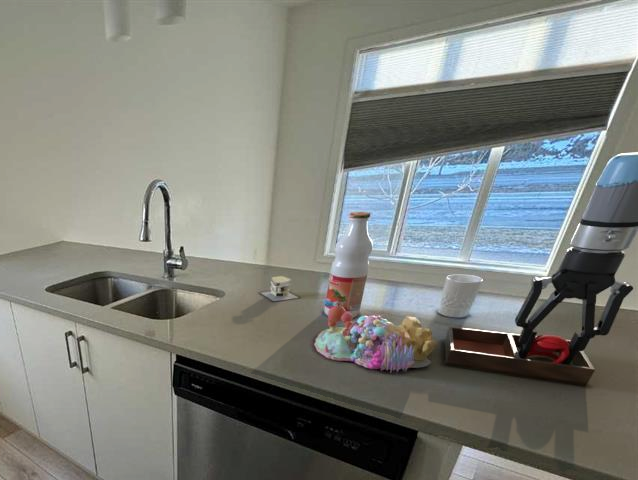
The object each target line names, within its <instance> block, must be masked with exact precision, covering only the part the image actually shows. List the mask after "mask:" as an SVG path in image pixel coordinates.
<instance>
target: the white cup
mask: <svg viewBox="0 0 638 480" xmlns="http://www.w3.org/2000/svg"><path fill="white" fill-rule="evenodd" d="M483 282H484V279H483V277H481V276H477V275H471V274H465V273H464V274H461V273H458V274H457V273H456V274H448V275H446V277H445V280H444V285H443V289H442V292H441V297H440V301H439V307H438V311H437V312H438V314H440V315H442V316H445V317H450V318H465V317H468V316H469V313H470V310H471V308H472V307H473V304H474V303H475V301H476V298H477V296H478V294H479V291H480V289H481V287H482V284H483Z"/></svg>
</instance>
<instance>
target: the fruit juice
mask: <svg viewBox="0 0 638 480" xmlns="http://www.w3.org/2000/svg"><path fill="white" fill-rule="evenodd" d="M370 219H371V212H369V211H353V212H350V213H349V215H348V220H349V223H348V225H347V228H346V230H345V231H344V234H343V235H342V236H341V237H340V238H339V239H338V240H337V241H336V243H335V246H334V256H335V258H334V260H333V261H332V263H331V268H330V270H329V271H330V272H329V279H328V284H327V289H326V296H325V302H324V308H323V312H324V314H325V315H326V316H328V312H329V310H330V309H331V308H332V307H334V306H337V305H338V306H342V307H343V308H344V309H345V311H346V313H351V314H352V316H353V319H354V318H356V317H358V315H359V314H360V311H361V306H362V302H363V297H364V292H365V287H366V285H367V283H366V282H367V279H368V275H369V268H370V261H369V257H370V255H371V253H372V252H373V247H374V243H373V240H372V238H371V237H370V236H369V231H368V222H369V220H370Z"/></svg>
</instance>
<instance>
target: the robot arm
mask: <svg viewBox="0 0 638 480" xmlns="http://www.w3.org/2000/svg"><path fill="white" fill-rule="evenodd" d="M637 233H638V151H633V152H625V153H624V152H623V153H619V154H616V155H615V156H613V157H612V158H610V159H609V161H607V163H606V166H605V167H604V169H603V171H602V173H601V174H600V176H599V178H598V180H597V181H596V182H595V187H594V190H593V192H592V195H591V196H590V199H589V201H588V203H587V206H586V207H585V210H584V212H583V215H582V216H581V219H580V222H579V223H578V225H577V227H576V230H575V231H574V234H573V236H572V238H571V240H570V243H569V245H570V246H571V247H569V248H568V249H566V251H565V254H564V256H563V257H562V260H561V262H560V265H559V267H558V268H557V270H556V272H555V273H553V274H552V275H551V276H547V277H545V276H544V277H539V276H535V277H532V279H531V288H530V290H529V292H528V294H527V295H526V298H525V300H524V302H523V303H522V305H521V307H520V309H519V311H518V312H517V314H516V317H515V318H514V322H515V326H516V327H519V328H522V331H521V332H520V334H519V335H520V337H519V342H520V344H523V345H522V347H521V349H520V351H519V356H520V358H522V359H525V358H526V356H527V354H528V352H529V350H530V348H531V345H532V343H533V341H534V339H535V337H536V336H538V335H537V334H538V330H537V327H538V326H539V324H540V323H542V322H543V321H544V320H545V318H546V317H547V316H548V315H549V314H550V313H551V312H552V311H553V310H555V308H556V307H557V306H558V305H559V304H561V303H562V302H563V301H564V300H566V299H569V300H570V299H577V300H581V301H582V304H581V306H582V309H581V331H575V332H574V334H573V335H572V337H571V339H570V340H571V341H570V343H569V346H570V347H569V355H568V357H567V358H566V359H565V360H564V361H563V362H562V364H566V365H570V363H571V361H572V359H573V357H574V355H575V353H576V351H584V350H585V349H586V347H587V346H588V344H589V342H590V340H591V339H594V338H595V337H596V336H602V337H604V336H607V335H609V333H610V331H611V330H612V329H611V328H612V327H613V324H614V322H615V319H616V317H617V315H618V313H619V310H620V309H621V306H622V303H623V302H624V299H625V298H626V297H627V296H628V295H630V293H631V292H632V291H633V290H634V287H633V285H631V284H630V283H629V282H628V281H623V282H621V281H617V280H616V273H617V272H618V270H619V268H620V266H621V264H622V263H623V261H624V258H625V256H626V255H627V254H626V252H625V250H627V249H629V248H630V247H631V245H632V243H633V241H634V239H635V238H636V235H637ZM549 284H551V285H552V286H553V288H554V290H553V291H552V292H551V294H549V297H548V298H547V299H546V300H545V301H544V302H543V303H542V305H540V307H539V308H537V310H536V311H535V312H534V313H532V311H533V309H534V307H535V306H536V303H537V301H538V300H539V299H540V296H541V294H542V291H543V290H544V289H545V290H546V289H547V287H548V286H549ZM609 288H610V290H609V291H610V294H609V297H608V299H607V301H606V303H605V306H604V308H603V310H602V313H601V315H600V318H599V320H598V322H597V325H596V326H595V317H596V304H597V296H598V295H599V294H600V293H602V292H604V291H606V290H607V289H609ZM531 313H532V315H531V316H530V314H531Z"/></svg>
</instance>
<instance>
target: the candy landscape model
mask: <svg viewBox="0 0 638 480" xmlns="http://www.w3.org/2000/svg"><path fill="white" fill-rule="evenodd" d="M353 319H354V318H353V316H352V314H351V313H346V311H345V309H344V308H343V307H342V306H338V305H337V306H334V307H332V308H331V309H330V310H329V312H328V315H327V326H328V327H329V328H326V329H324V330H322V331H321V332H319V333H318V335H317V337H316V338H315V342H314V344H313V345H314V347H315V349H316V351H317V353H319V354H321V355H322V356H324V357H325V358H327V359H331V360H332V361H339V362H342V361H343V362H344V361H345V362H354V363H355V364H357V365H359V366H362V367H364V368H366V369H370V370H380V372H381V371H384V370H386V371H389V370H390V371H389V373H390V374H391V373H392V371H396V372H397V373H398V372H399V370H402V371H404V372H407V370H408V369H410V368H411V369H412V368H415V369H419V368H424V367H425V368H426V367H427V366H428V365H430V364H431V363H432V361H431V360H430V359H428V357H429V356H430V355H431V353H432V352H433V351H434V349H435V348H436V345H437V344H438V342H437V340H436V339H433V338H432V334H433V331H432V329H430V328H428V327H424V328H423V327H422V324H421V322H420V320H419V319H418V318H417V317H415V316H409V315H406V316H405V317H404V319H403V320H402V322H401V324H399V325H397V326H395V325H394V323H392V322H391V321H388V320H387V319H386V318H382V316H381V315H376V316H375V315H369V316H367V315H362V316H360V317H359V318H358V319H357V320H356V321H355V322H354V323H353V322H352V321H353ZM340 321H341V322H342V323H344V327H343V326H342V327H341V326H340V327H335V326H336V325H337V323H338V322H340Z"/></svg>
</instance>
